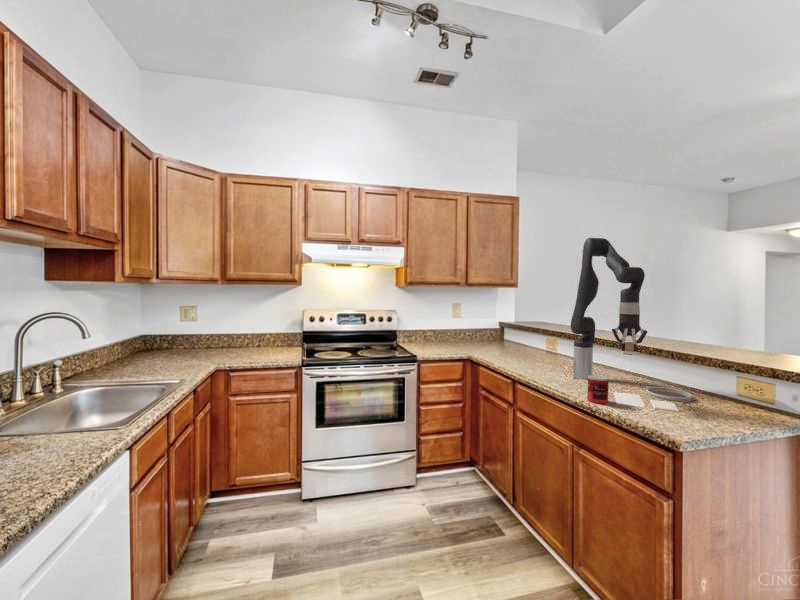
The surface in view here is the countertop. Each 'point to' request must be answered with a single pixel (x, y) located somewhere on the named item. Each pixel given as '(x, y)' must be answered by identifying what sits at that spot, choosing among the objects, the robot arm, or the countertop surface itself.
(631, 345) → the tan long bar
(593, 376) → the canned food
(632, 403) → the mat
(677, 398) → the frying pan
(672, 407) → the tile
